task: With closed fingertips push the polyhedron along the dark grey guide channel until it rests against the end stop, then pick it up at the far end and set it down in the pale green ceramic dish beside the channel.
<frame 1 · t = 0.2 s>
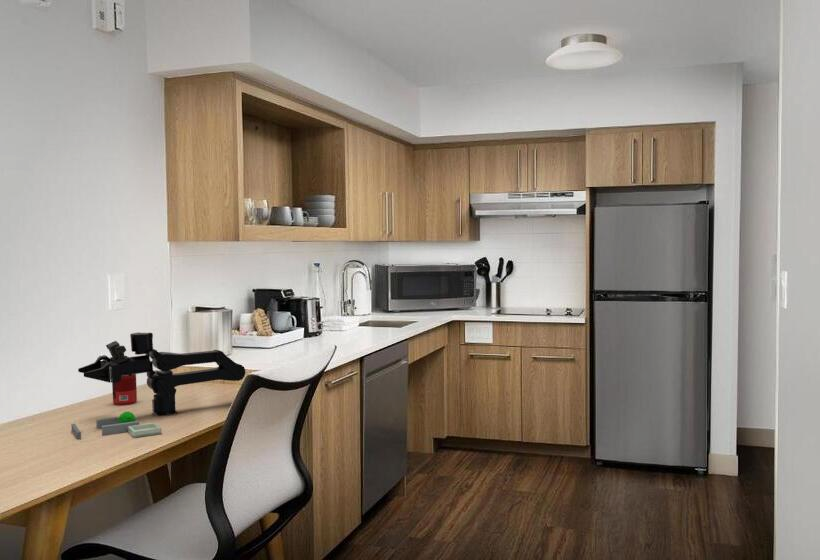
hand: (81, 372, 235), 16 cm above the table, tool horizontal, fingers open, 9 cm apart
dish: (144, 433, 225), on the table
channel: (108, 430, 229), on the table
polyhedron: (127, 428, 232), on the table
canned food: (125, 403, 266), on the table
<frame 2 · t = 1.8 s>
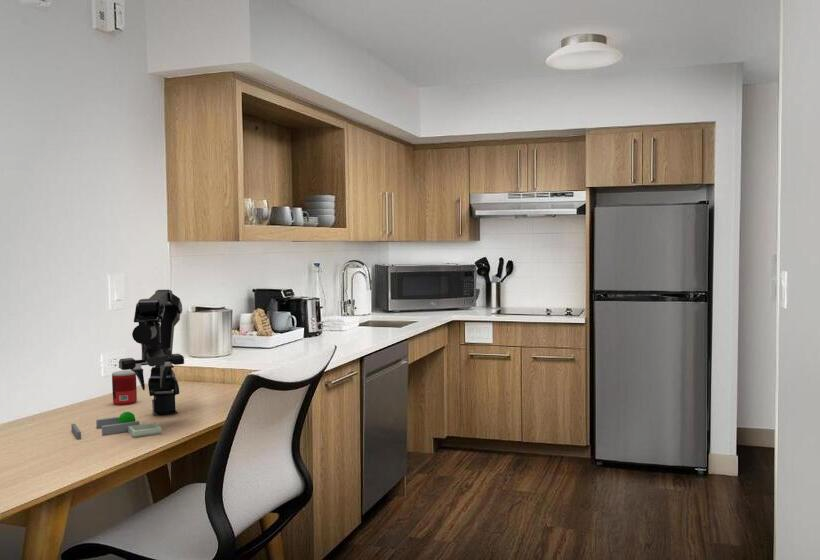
hand: (152, 389, 235), 11 cm above the table, tool pointing down, fingers open, 5 cm apart
nothing on the table moved.
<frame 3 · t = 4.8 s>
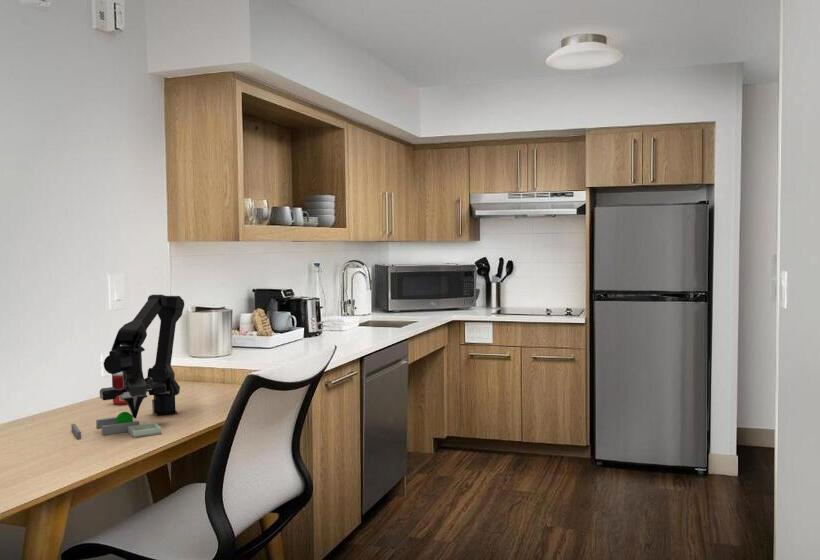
hand: (134, 418, 233), 3 cm above the table, tool pointing down, fingers closed
polyhedron: (124, 428, 231), on the table, touching gripper
everything else where it was.
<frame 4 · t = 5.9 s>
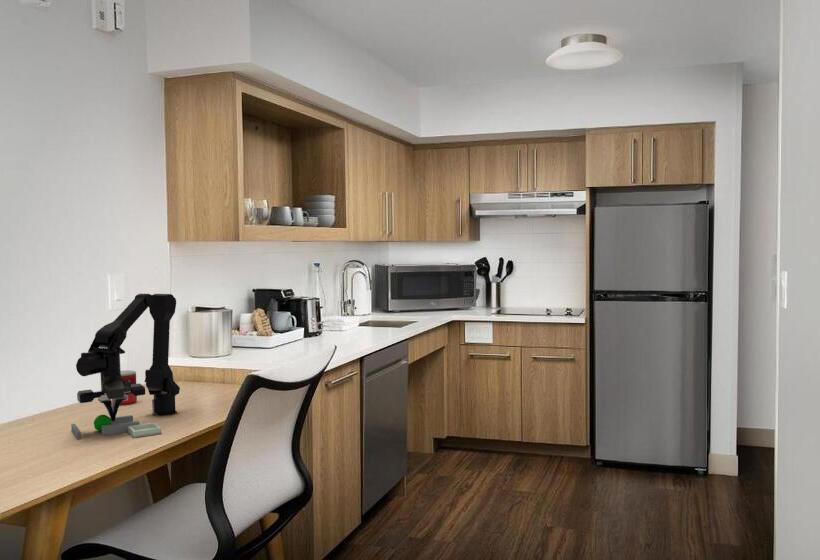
hand: (113, 420, 229), 3 cm above the table, tool pointing down, fingers closed
polyhedron: (102, 431, 228), on the table, touching gripper
everything else where it was.
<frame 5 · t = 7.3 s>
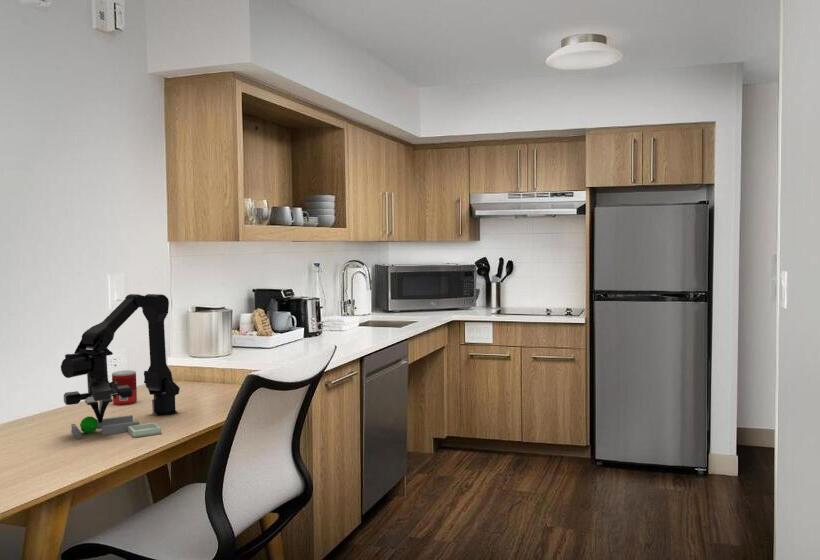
hand: (100, 422, 227), 3 cm above the table, tool pointing down, fingers closed
polyhedron: (89, 433, 226), on the table, touching gripper
everything else where it was.
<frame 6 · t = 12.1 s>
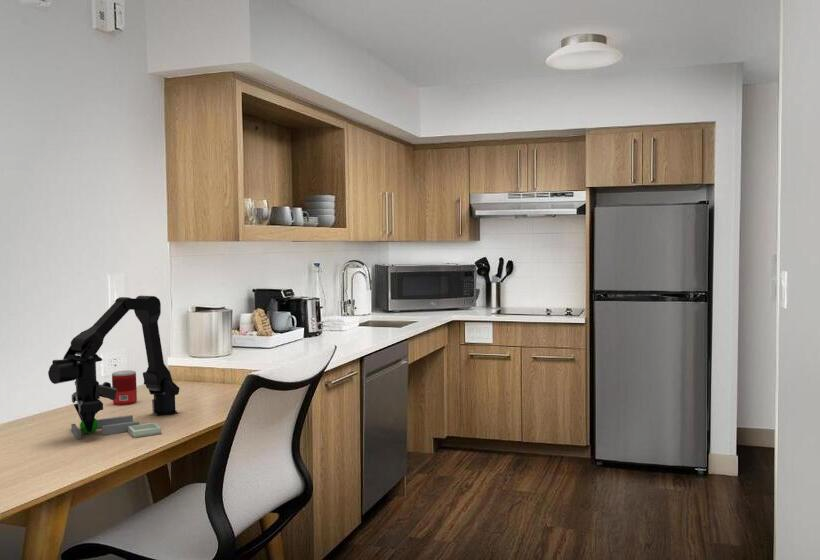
hand: (88, 429, 226), 1 cm above the table, tool pointing down, fingers closed on polyhedron, 5 cm apart
polyhedron: (89, 433, 226), on the table, touching gripper
everything else where it was.
when the fingers open (4 cm above the table, at t = 17.1 s): polyhedron drops 2 cm, resting on dish.
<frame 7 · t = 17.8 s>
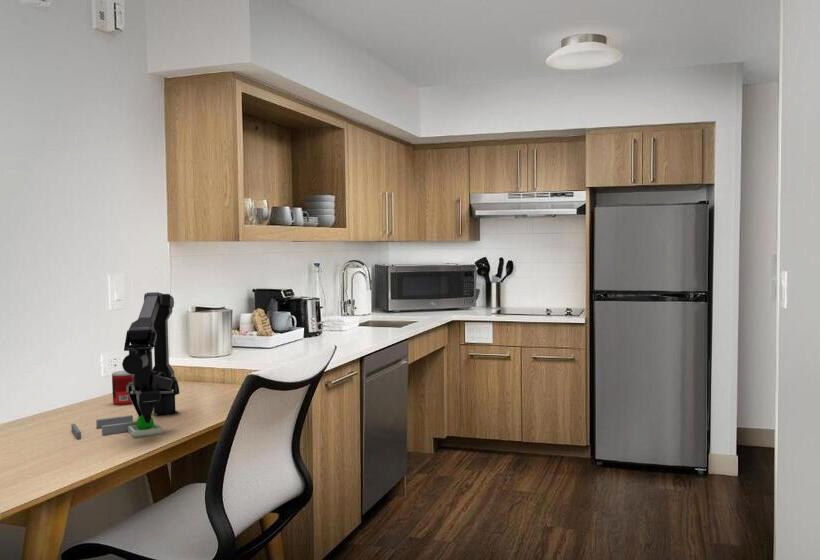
hand: (144, 419, 224), 4 cm above the table, tool pointing down, fingers open, 9 cm apart
polyhedron: (145, 431, 225), resting on dish
everything else where it was.
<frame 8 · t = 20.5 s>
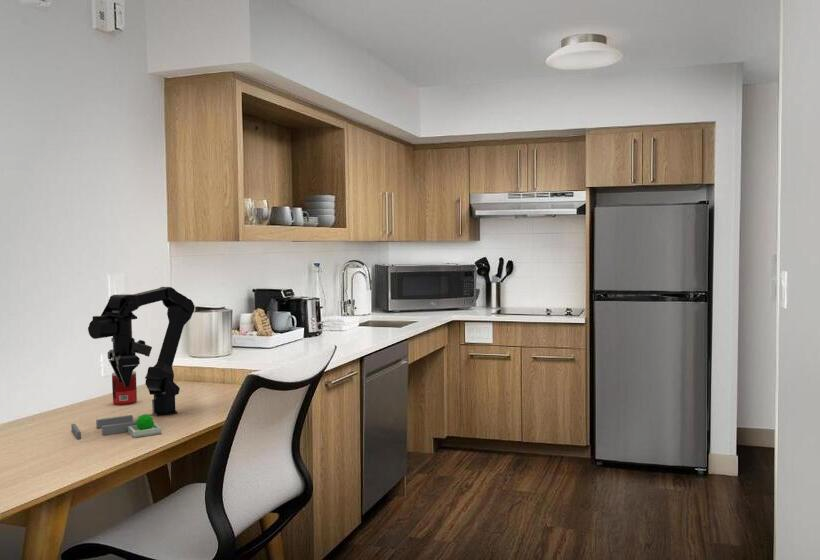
hand: (124, 384, 235), 13 cm above the table, tool pointing down, fingers open, 9 cm apart
nothing on the table moved.
at the end: polyhedron inside the target area on the dish (0.4 cm from its centre), point 0.4 cm above the dish's base; polyhedron moved 10.3 cm from its start; the gripper is holding nothing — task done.
